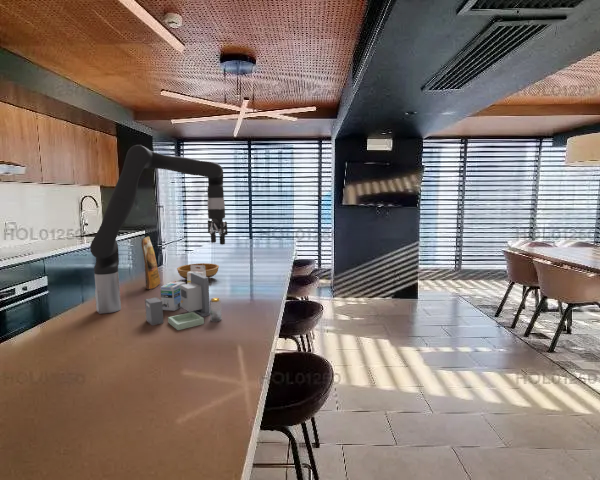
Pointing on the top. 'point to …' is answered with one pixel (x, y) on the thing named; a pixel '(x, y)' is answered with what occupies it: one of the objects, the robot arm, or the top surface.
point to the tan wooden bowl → (209, 268)
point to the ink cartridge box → (196, 270)
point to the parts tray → (185, 320)
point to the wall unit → (196, 295)
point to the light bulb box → (171, 295)
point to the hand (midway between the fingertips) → (218, 243)
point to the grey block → (154, 311)
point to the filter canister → (215, 309)
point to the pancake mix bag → (150, 264)
